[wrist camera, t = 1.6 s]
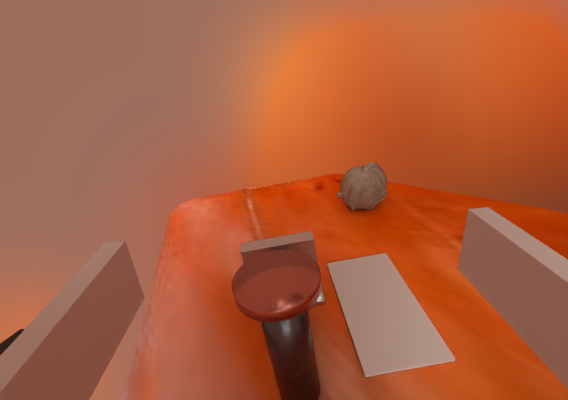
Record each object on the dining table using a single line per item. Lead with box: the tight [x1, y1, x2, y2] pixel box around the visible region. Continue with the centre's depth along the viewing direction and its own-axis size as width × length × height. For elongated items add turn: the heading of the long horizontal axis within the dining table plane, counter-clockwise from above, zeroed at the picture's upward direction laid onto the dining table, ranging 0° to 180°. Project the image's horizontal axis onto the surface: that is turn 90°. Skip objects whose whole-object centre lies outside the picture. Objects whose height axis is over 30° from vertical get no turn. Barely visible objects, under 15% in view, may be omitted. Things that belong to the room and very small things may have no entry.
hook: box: [232, 250, 322, 400], centre depth 35 cm, size 7×24×14 cm, turn 5°
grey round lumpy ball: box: [337, 162, 387, 210], centre depth 59 cm, size 9×8×10 cm
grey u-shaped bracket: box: [241, 231, 326, 306], centre depth 40 cm, size 9×5×9 cm, turn 96°
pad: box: [327, 253, 455, 377], centre depth 39 cm, size 9×18×1 cm, turn 6°
